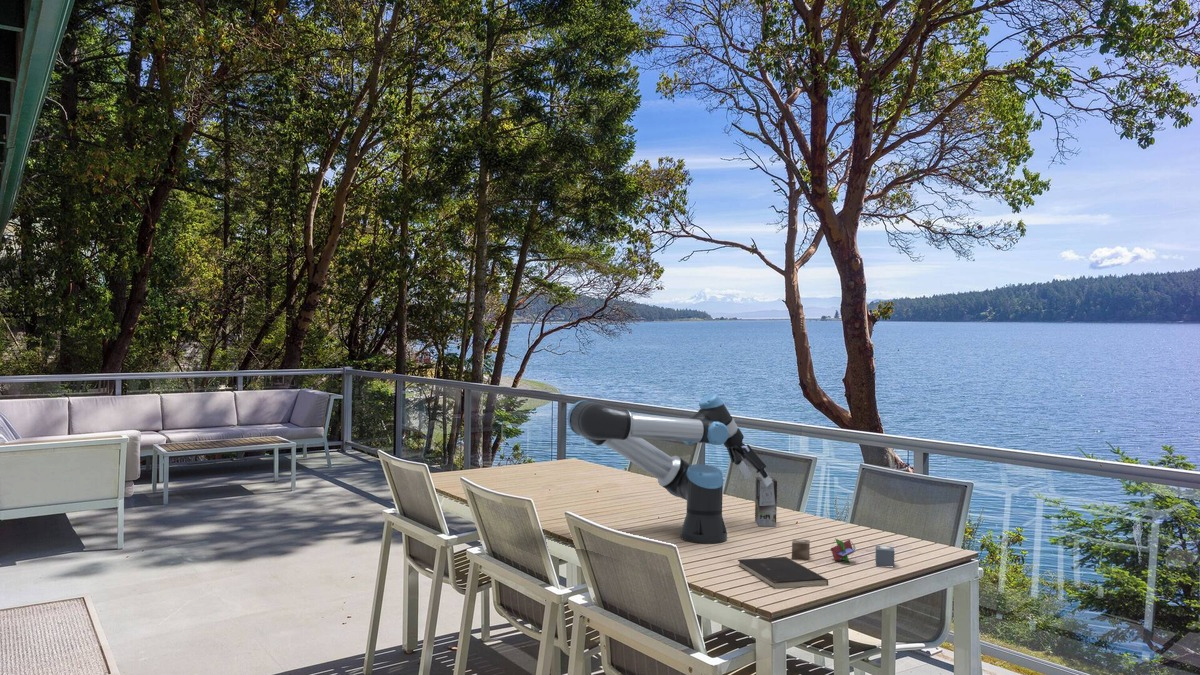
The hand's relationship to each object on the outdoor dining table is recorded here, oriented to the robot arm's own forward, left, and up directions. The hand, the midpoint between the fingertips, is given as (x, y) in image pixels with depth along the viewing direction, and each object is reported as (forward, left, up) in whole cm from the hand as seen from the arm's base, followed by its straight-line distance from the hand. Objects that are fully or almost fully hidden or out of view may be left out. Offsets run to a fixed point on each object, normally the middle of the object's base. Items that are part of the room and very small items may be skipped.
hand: (759, 480), depth 302 cm
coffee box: (+3, 0, -16) cm, 16 cm away
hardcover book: (-29, -58, -16) cm, 67 cm away
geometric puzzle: (-3, -51, -16) cm, 53 cm away
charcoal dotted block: (+7, -58, -16) cm, 61 cm away
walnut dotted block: (-13, -44, -16) cm, 48 cm away
